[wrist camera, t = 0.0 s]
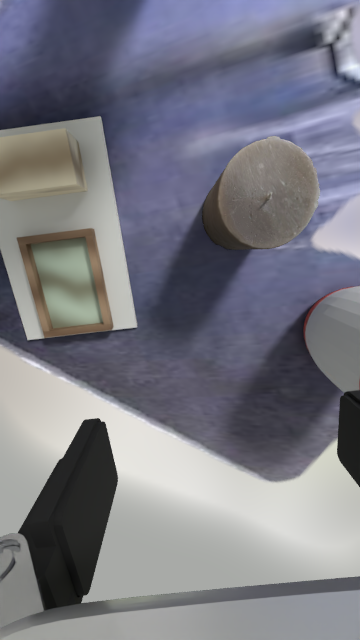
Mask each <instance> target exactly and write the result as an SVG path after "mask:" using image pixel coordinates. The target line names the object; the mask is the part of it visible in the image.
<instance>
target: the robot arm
mask: <svg viewBox="0 0 360 640" xmlns="http://www.w3.org/2000/svg"><path fill="white" fill-rule="evenodd" d="M337 454H338V457H339V460H340V462H341V463H342V464H343V466H344V467H345V468H346V470H347V471H348V472H349V474H350V475H351V476H352V478H353V479H354V480H355V481H356V483H357V484H358V485H359V487H360V390H355V391H346V392H345V393H344V396H341V398H340V411H339V429H338V448H337ZM117 482H118V476H117V471H116V466H115V462H114V459H113V454H112V449H111V445H110V441H109V437H108V432H107V428H106V424H105V422H101V420H100V419H99V418H97V419H89V420H84V421H83V423H82V425H81V426H80V428H79V430H78V432H77V433H76V435H75V437H74V439H73V441H72V442H71V444H70V446H69V448H68V450H67V451H66V454H65V455H64V457H63V458H62V459H60V460H59V462H58V463H57V465H56V467H55V468H54V470H53V472H52V473H51V475H50V477H49V479H48V480H47V482H46V484H45V486H44V488H43V490H42V491H41V493H40V495H39V497H38V498H37V500H36V502H35V504H34V505H33V507H32V509H31V511H30V512H29V514H28V516H27V518H26V520H25V521H24V523H23V525H22V527H21V528H20V530H19V532H18V533H11V534H8V535H4V536H2V537H0V640H360V577H348V578H336V579H324V580H314V581H302V582H290V583H279V584H268V585H257V586H245V587H235V588H223V589H213V590H203V591H192V592H183V593H171V594H161V595H151V596H140V597H131V598H122V599H115V600H106V601H97V602H89V603H81V602H82V598H83V595H87V594H88V593H89V590H90V587H91V583H92V580H93V576H94V572H95V568H96V564H97V560H98V556H99V553H100V549H101V545H102V541H103V537H104V533H105V530H106V525H107V522H108V518H109V514H110V510H111V506H112V502H113V498H114V494H115V491H116V487H117Z"/></svg>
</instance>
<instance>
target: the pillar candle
mask: <svg viewBox="0 0 360 640" xmlns="http://www.w3.org/2000/svg"><path fill="white" fill-rule="evenodd" d="M319 196H320V189H319V183H318V179H317V171H316V168H314V167H313V162H312V160H311V159H310V158H309V157H308V156H307V154H306V153H304V152H303V151H302V148H300V147H298V146H296V145H295V144H293V143H292V142H290V141H286V140H282V139H280V138H279V137H276V136H271V137H268V138H267V139H262V140H260V141H256V142H254V143H252V144H250V145H248V146H246V147H244V148H243V149H241V150H240V151H239V152H238V153H237V154H236V155H235V156H234V157H233V158H232V159H231V160H230V162H229V163H228V165H227V166H226V168H225V169H224V171H223V172H222V174H221V175H220V177H219V179H218V180H217V181H216V183H215V185H214V186H213V188H212V189H211V190H210V192H209V193H208V195H207V197H206V200H205V202H204V205H203V211H202V219H203V224H204V229H205V231H206V233H207V235H208V236H209V238H210V239H211V240H212V241H213V242H214V243H215V244H217V245H220V246H222V247H224V248H226V249H233V250H239V249H270V248H275V247H279V246H281V245H284V244H286V243H288V242H289V241H291V240H292V239H294V238H295V237H296V236H297V235H298V234H300V233H301V231H302V230H303V229H304V228H305V227H306V226H307V224H308V223H309V221H310V219H311V217H312V215H313V213H314V211H315V209H316V208H317V206H318V199H319Z"/></svg>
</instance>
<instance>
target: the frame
mask: <svg viewBox="0 0 360 640" xmlns="http://www.w3.org/2000/svg"><path fill="white" fill-rule="evenodd" d="M17 242H18V245H19V249H20V252H21V256H22V259H23V263H24V266H25V270H26V274H27V277H28V281H29V284H30V288H31V291H32V295H33V299H34V302H35V306H36V309H37V313H38V316H39V320H40V324H41V327H42V331H43V334H44V338H47V337H55V336H64V335H72V334H81V333H89V332H98V331H107V330H112V329H113V327H114V326H113V321H112V316H111V311H110V306H109V301H108V296H107V291H106V286H105V281H104V276H103V271H102V266H101V261H100V256H99V251H98V246H97V241H96V236H95V231H94V229H93V228H87V229H80V230H72V231H64V232H56V233H48V234H41V235H33V236H25V237H17Z"/></svg>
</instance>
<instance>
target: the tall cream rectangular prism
mask: <svg viewBox="0 0 360 640" xmlns="http://www.w3.org/2000/svg"><path fill="white" fill-rule="evenodd" d="M84 191H88V188H87V183H86V178H85V173H84V168H83V163H82V158H81V153H80V148H79V143H78V141H77V140H76V139H75V138H74V137H73V136H72V135H71V134H70V133H69V131H68V130H67V129H66V128H63V129H56V130H49V131H41V132H34V133H27V134H20V135H13V136H6V137H0V198H2V199H5V200H9V201H16V200H24V199H31V198H39V197H47V196H54V195H62V194H69V193H77V192H84Z"/></svg>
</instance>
